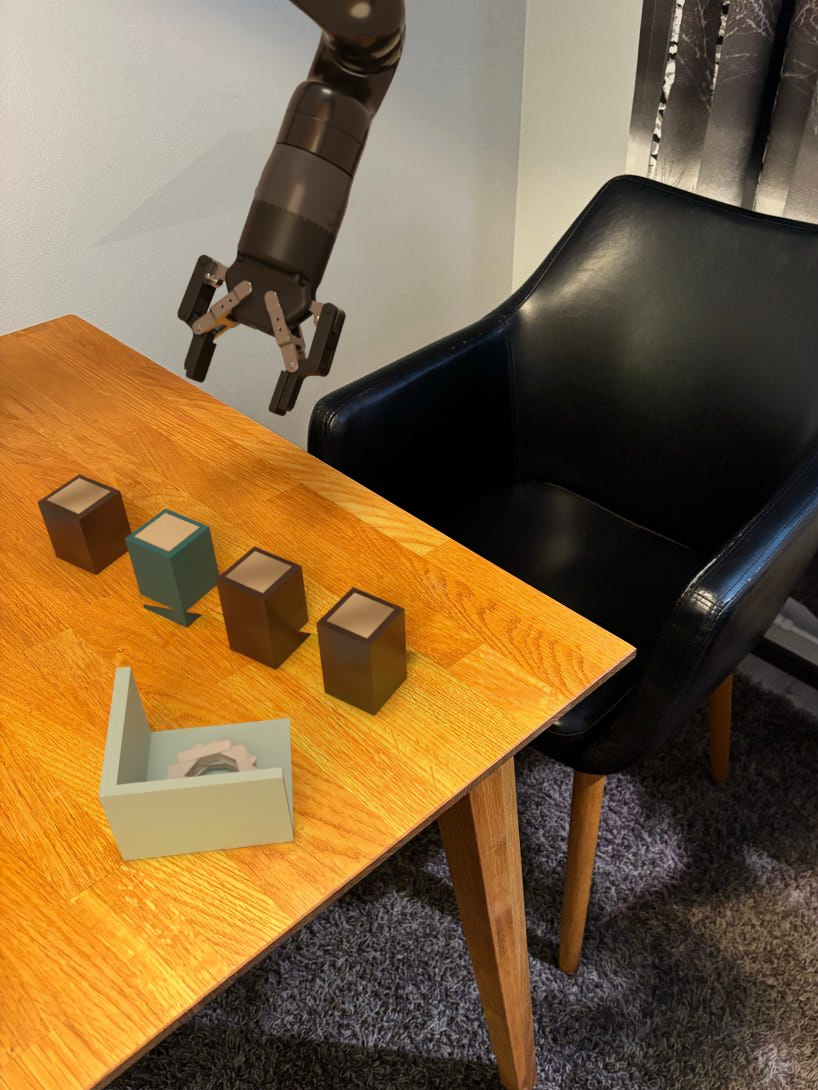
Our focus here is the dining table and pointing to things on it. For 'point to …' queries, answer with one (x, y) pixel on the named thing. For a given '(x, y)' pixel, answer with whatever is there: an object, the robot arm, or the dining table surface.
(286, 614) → the walnut block
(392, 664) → the walnut block
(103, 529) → the walnut block
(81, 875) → the dining table surface
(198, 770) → the l-shaped corner panel
